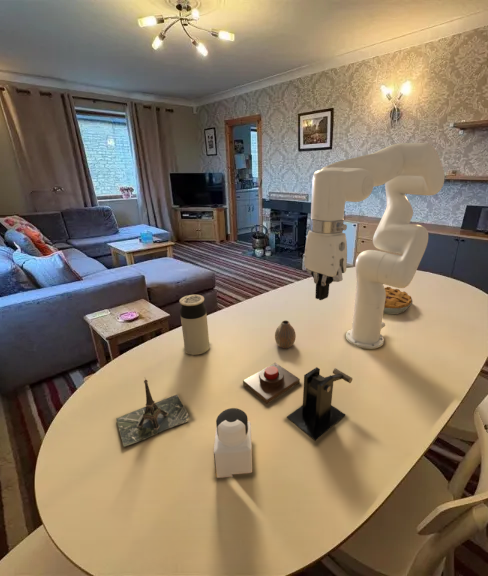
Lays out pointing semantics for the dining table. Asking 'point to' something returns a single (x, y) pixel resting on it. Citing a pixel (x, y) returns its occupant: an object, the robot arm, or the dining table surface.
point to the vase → (285, 335)
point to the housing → (271, 383)
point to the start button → (271, 372)
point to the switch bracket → (316, 407)
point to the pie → (396, 301)
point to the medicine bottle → (232, 443)
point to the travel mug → (194, 324)
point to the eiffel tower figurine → (151, 418)
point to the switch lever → (337, 376)
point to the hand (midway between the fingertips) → (321, 297)
